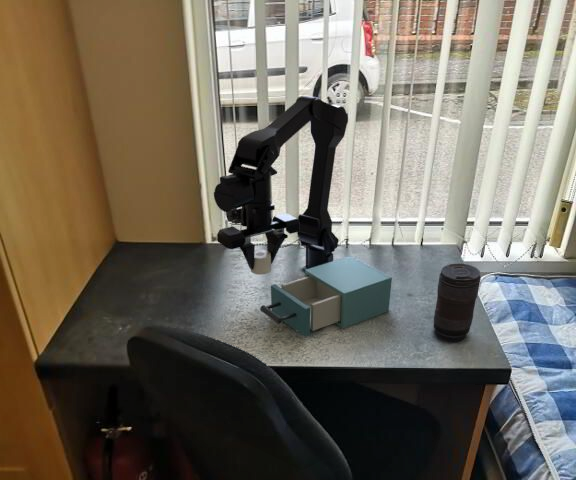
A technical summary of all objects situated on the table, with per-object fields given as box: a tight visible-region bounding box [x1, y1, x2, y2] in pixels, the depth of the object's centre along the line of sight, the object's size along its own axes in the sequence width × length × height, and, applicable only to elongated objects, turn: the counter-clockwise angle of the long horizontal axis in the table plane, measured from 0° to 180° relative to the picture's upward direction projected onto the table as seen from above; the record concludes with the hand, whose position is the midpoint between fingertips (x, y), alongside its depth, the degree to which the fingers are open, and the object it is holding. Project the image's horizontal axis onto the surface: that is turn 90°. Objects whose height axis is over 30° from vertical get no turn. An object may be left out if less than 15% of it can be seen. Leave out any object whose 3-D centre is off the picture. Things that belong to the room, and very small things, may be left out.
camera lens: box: [433, 263, 482, 344], centre depth 119 cm, size 8×8×15 cm
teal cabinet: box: [304, 255, 393, 329], centre depth 132 cm, size 14×15×9 cm
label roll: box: [250, 249, 272, 276], centre depth 132 cm, size 5×5×4 cm
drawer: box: [259, 276, 342, 338], centre depth 126 cm, size 17×13×7 cm
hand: (260, 266), depth 133 cm, fingers closed on label roll, 5 cm apart
